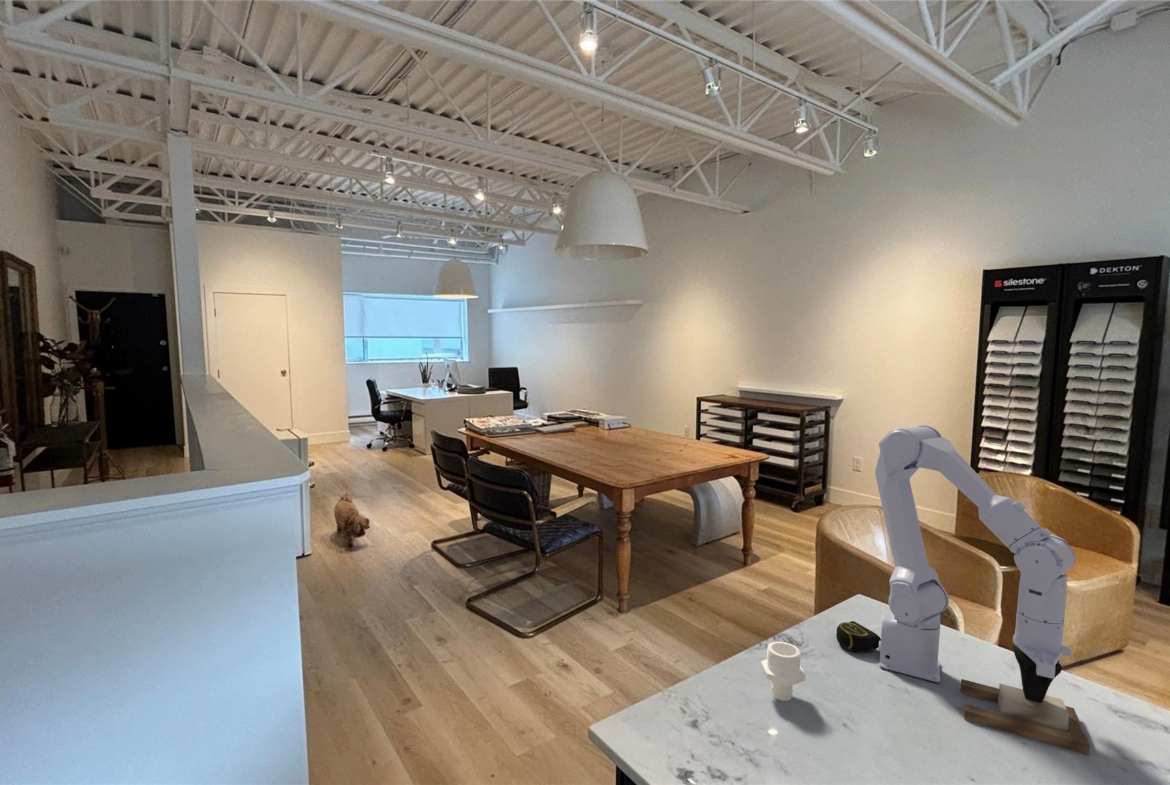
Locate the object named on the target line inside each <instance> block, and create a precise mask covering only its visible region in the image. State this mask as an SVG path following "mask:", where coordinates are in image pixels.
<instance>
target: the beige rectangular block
mask: <svg viewBox="0 0 1170 785" xmlns="http://www.w3.org/2000/svg"><path fill="white" fill-rule="evenodd" d="M998 689H999V696H998V703H997V708H998V713H1001V714H1004V715H1008V716H1011V717H1015V718H1019V719H1022V720H1026V721H1030V722H1033V723H1037V724H1040V725H1044V726H1048V727H1051V728H1055V729H1058V730H1062V731H1066V732H1067V731H1068V721H1069V714H1068V712H1067V709H1066V707H1065V706H1066V705H1065V703H1064V700H1063V699H1062V698H1057V697H1055V696H1054V697H1053V696H1050V695H1047V694H1046V695H1045V698H1044V700H1043V702H1042V703H1039V702H1035V701H1031V700H1027V699H1025V695H1024V692H1023V688H1019V687H1014V686H1011V685H1006V684H1003V683H999V687H998Z"/></svg>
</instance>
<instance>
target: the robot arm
mask: <svg viewBox="0 0 1170 785" xmlns="http://www.w3.org/2000/svg"><path fill="white" fill-rule="evenodd" d="M878 447H879V448H878V449H879V454H878V459H877V463H876V467H875V472H874V473H875V479H876V483H877V489H878V494H879V498H880V502H881V506H882V511H883V516H884V521H885V522H884V523H885V525H886V530H887V535H888V539H889V544H890V548H891V549H890V550H891V553H892V558H893V563H894V568H893V571H892V574H891V576H890V578H889V581H888V584H889V589H890V590H889V591H890V592H889V596H888V600H887V601H888V607H889V610H890V612H886V611H884V612H882V621H881V633H880V635H881V636H880V638H881V641H879V647H878V652H880V653H879V665H878V666H879V667H880V668H882V669H884V670H889V671H893V672H897V673H900V674H905V675H908V676H911V677H915V678H919V679H923V680H926V681H931V682H934V683H938V684H939V683H941V670H940V668H941V667H940V660H939V648H940V647H939V646H940V634H941V613H943V612H945V611H946V610H947V608H948V606H949V603H950V602H949V600H950V599H949V595H948V593H947V591H946V588H944V587H943V585H942V584H941V581H940V578H939V574H938V572H937V571H936V570H935V569H933V568H932V567H931V565H929V562H928V557H927V553H926V552H927V551H926V548H925V544H924V539H923V534H922V530H921V526H920V521H919V516H918V513H917V508H916V504H915V503H916V502H915V498H914V495H913V494H914V493H913V490H912V485H911V482H910V480H911V478H912V477H913V475H914V474H915V473H916V472H917V471H918V470H919V469H920V468H921V469H927V470H931V471H935V472H939V473H941V475H943V476H944V477H945V478H946V479H947V480H948V481H949V482H950V483H951V484H953V485H954V486H955V488H957V489H958V490H959V491H960V492H961V493H963V495H965V496H966V498H967V499H969V500H970V501H971V502H972V503H973V504H974V505H975V506H976V507H977V508H978V518H979V520H980V521H981V522H982V524H984V525H985V527H987V528H988V529H989V530H990V531H991V533H993V534H994V535H995V537H996V538H998V540H999V541H1000V542H1001V543H1002V544H1003V545H1004V546H1006V548H1008V549H1009V551H1010V552H1011V553H1013V554H1014V555H1013V559H1014V563H1015V565H1016V568H1017V569H1018V571H1019V572H1020V577H1019V581H1018V582H1019V583H1018V584H1019V585H1018V593H1017V594H1018V595H1017V605H1016V606H1017V608H1016V618H1015V628H1014V629H1015V630H1014V634H1013V636H1012V643H1014V645H1012V650H1013V654H1014V656H1015V659H1016V662H1017V664H1018V666H1019V672H1020V679H1021V687H1022V689H1023V692H1024V695H1025V699H1027V700H1031V701H1035V702H1039V703H1042V702H1043V700H1044V698H1045V695H1047V693H1048V690H1049V688H1050V686H1051V683H1052V682H1053V681H1054V680H1055V678H1056V677H1057V676H1058V675H1059V674H1061V672H1062V670H1063V667H1062V664H1061V663H1060V659H1061V658H1062V656H1067V657H1072V655H1073V654H1072V652H1073V651H1072V649H1071V647H1069V646H1066V645H1063V639H1064V638H1063V637H1064V624H1065V614H1066V605H1067V593H1068V592H1067V585H1068V574H1067V572H1069V571H1070V570H1071V569H1072V568H1073V567H1074V565H1075V562H1076V555H1075V552H1074V551H1073V549H1072V547H1071V546H1070V544H1069V543H1068V542H1067V540H1066V539H1064V538H1062V537H1059V536H1057V535H1053V533H1052V531H1050V530H1049V529H1048V528H1045V529H1044V528H1043V527H1042V526H1041V525H1040V524H1039V523H1038V522H1037V521H1036V520H1035V519H1034V518H1033V517H1032V516H1030V514H1028V512H1026V511H1025V509H1026V508H1027V507H1026V505H1025V504H1024V503H1023V502H1022V501H1020V500H1019V501H1015V499H1013V498H1012V497H1009V496H1002V495H998V494H997V493H996V492H995V491H994V490H993V489H992V488H991V486H989V485H988V483H986V481H985V480H984V479H983V478H982V477H981V476H980V475H979V473H977V472H976V471H975V470H974V469H973V468H972V467H971V465H970V464H969V463H968V462H967V461H966V460H965V458H963V456H961V455H960V454H959V453H958V452H957V450H956V449H955V448H954V446H953V444H952V443H951V441H950V440H949V439H947V438H946V437H945V436H942V433H941V432H940V431H939V430H937V429H936V428H935V427H933V426H930V425H918V426H914V427H906V428H904V427H901V428H900V427H898V428H894V429H891V430H890V431H888V432H887V433H886V435H884V437H883V438H882V439H881V440H879V442H878Z"/></svg>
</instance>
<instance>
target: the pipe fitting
mask: <svg viewBox="0 0 1170 785" xmlns="http://www.w3.org/2000/svg"><path fill="white" fill-rule="evenodd" d="M801 653H802V652H801V650H800V649H799V648H798V647H797V646H796V645H794V644H792V643H789V642H786V641H785V642H784V641H773V642H770V643H768V644H767V653H766V659H763V660H761V662H760V668H761V669H762V672H763V674H764V676H765V679H766V680H770V681H771V695H772V696H773V698H775V699H776V700H778V701H782V702H788V701H790V700H792V697H793V686H794V685H797V684H799V683H802V682H805V681H806V676H807V675H806V673H805V671H804V669H803V667H802V666H801V657H802V656H801Z"/></svg>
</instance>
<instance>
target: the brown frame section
mask: <svg viewBox="0 0 1170 785" xmlns="http://www.w3.org/2000/svg"><path fill="white" fill-rule="evenodd" d="M960 692H961V694H963V695H967V696H970V697H973V698H974V697H975V698H978V699H981V700H982V699H983V700H985V701H989V702H993V703H997V704H998V696H999V687H998V688H997V687H994V686H990V685H988V684H987V685H986V684H982V683H978V682H975V681H971V680H967V679H962V678H961V680H960ZM963 704H964V705H963V717H964V720H966V721H970V722H973V723H976V724H979V725H984V726H987V727H991V728H993V729H997V730H1001V731H1005V732H1008V733H1011V734H1015V735H1017V736H1021V737H1024V738H1028V739H1032V740H1035V741H1039V742H1041V743H1047V744H1050V745H1053V746H1056V747H1059V748H1064V749H1066V750H1070V751H1073V752H1077V753H1081V754H1083V755H1086V756H1090V750H1091V745H1090V742H1089V740H1088V738H1087V735H1086V733H1085V730H1084V728H1083V726H1082V724H1081V722H1080V720H1079V717H1078V715H1077V712H1076V710H1075V708H1074V707H1070V706H1068V705H1065V707H1066V709H1067V712H1068V714H1069V721H1068V731H1067V732H1066V731H1062V730H1058V729H1055V728H1051V727H1048V726H1044V725H1040V724H1037V723H1033V722H1030V721H1026V720H1022V719H1019V718H1015V717H1011V716H1008V715H1004V714H1001V713H999V712H997V711H992V710H988V709H986V708H982V707H978V706H975V705H972V704H967V703H963Z"/></svg>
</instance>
